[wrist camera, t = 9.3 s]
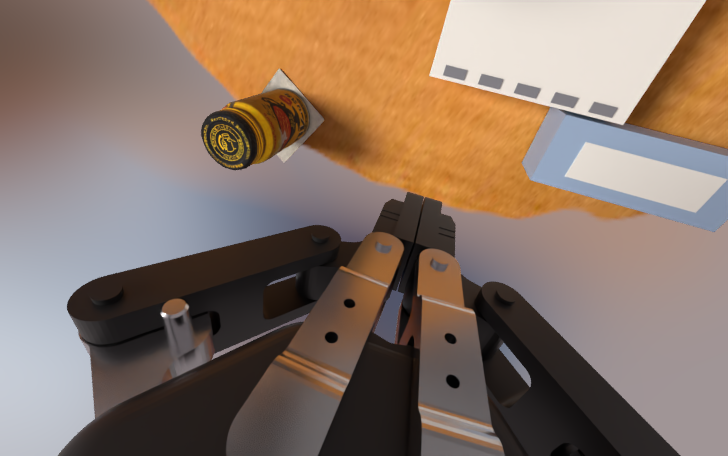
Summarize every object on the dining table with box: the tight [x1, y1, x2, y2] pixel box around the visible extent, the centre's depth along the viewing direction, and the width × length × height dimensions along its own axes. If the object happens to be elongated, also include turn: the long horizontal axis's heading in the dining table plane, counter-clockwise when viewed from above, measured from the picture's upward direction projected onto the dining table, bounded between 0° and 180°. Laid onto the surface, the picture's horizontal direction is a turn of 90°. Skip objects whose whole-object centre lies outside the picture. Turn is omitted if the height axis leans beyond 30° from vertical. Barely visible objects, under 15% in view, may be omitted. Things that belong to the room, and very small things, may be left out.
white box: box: [429, 0, 706, 125], centre depth 24 cm, size 12×16×5 cm
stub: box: [522, 107, 728, 232], centre depth 28 cm, size 6×16×5 cm, turn 79°
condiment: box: [201, 69, 325, 170], centre depth 32 cm, size 7×8×12 cm
